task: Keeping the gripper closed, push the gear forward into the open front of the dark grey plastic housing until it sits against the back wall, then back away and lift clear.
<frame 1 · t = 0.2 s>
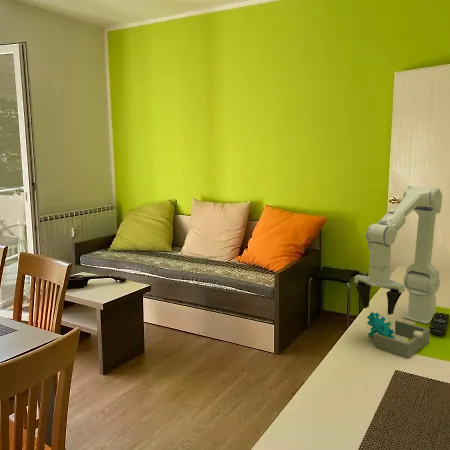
hand: (378, 310, 132), 10 cm above the table, tool pointing down, fingers open, 7 cm apart
housing: (401, 344, 132), on the table
gear: (380, 339, 136), on the table
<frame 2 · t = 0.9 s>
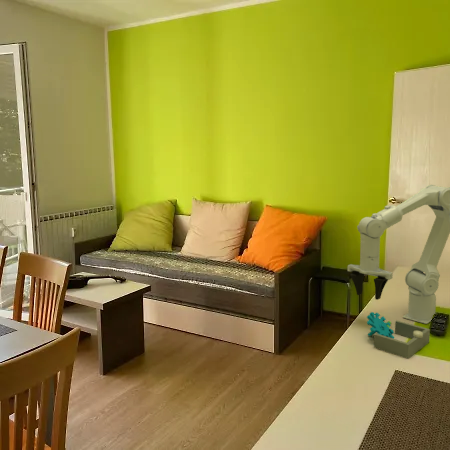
hand: (368, 296, 145), 9 cm above the table, tool pointing down, fingers open, 6 cm apart
nothing on the table moved.
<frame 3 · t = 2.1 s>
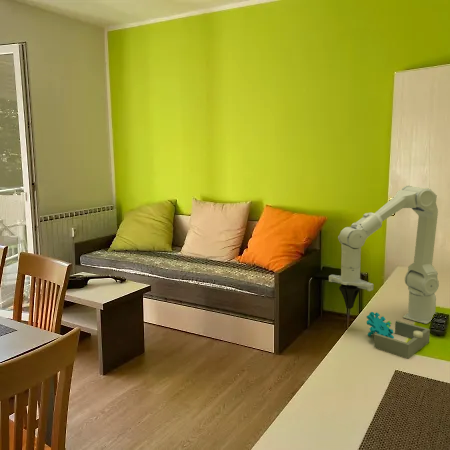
hand: (349, 307, 142), 7 cm above the table, tool pointing down, fingers closed
nothing on the table moved.
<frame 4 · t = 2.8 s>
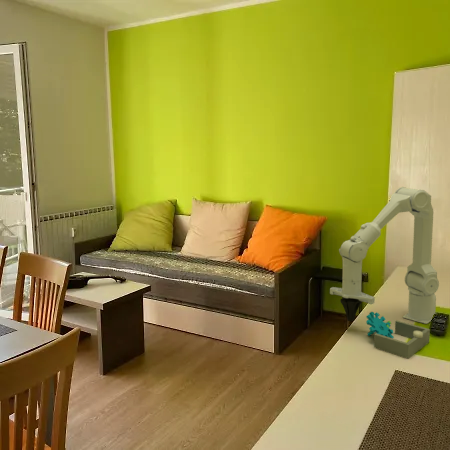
hand: (350, 320, 143), 3 cm above the table, tool pointing down, fingers closed
nothing on the table moved.
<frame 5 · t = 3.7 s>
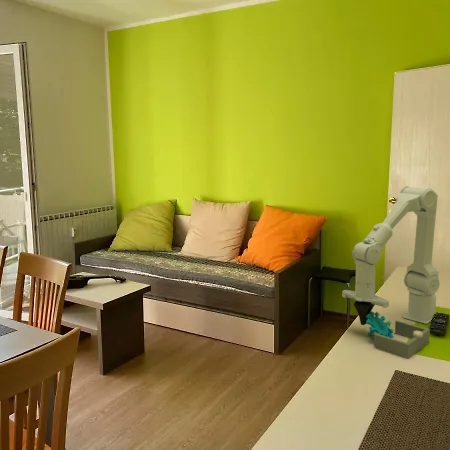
hand: (363, 324, 140), 3 cm above the table, tool pointing down, fingers closed
gear: (380, 338, 136), on the table, touching gripper
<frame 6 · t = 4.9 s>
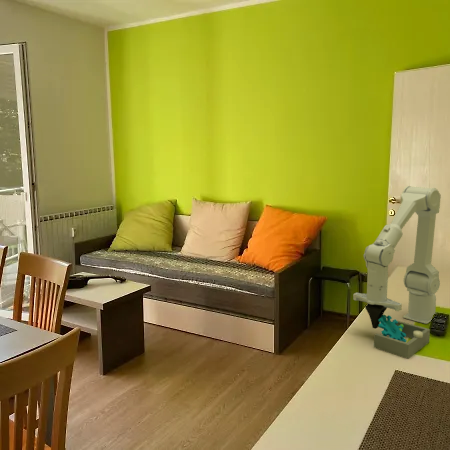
hand: (375, 327, 137), 3 cm above the table, tool pointing down, fingers closed
gear: (392, 342, 134), on the table, touching gripper
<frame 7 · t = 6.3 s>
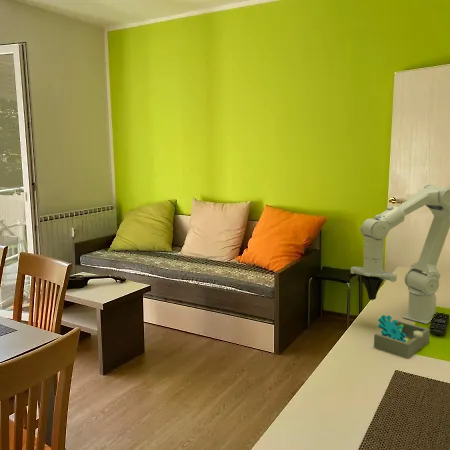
hand: (372, 298, 143), 9 cm above the table, tool pointing down, fingers closed
gear: (392, 342, 134), on the table
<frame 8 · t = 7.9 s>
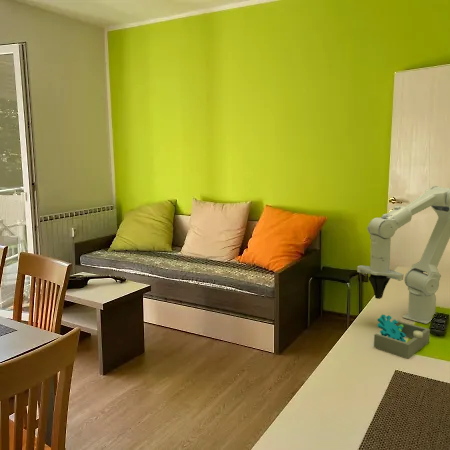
hand: (378, 297, 144), 9 cm above the table, tool pointing down, fingers closed
nothing on the table moved.
at the end: gear 1.4 cm from the target spot, on the table; gear tilted 0°; gear moved 3.4 cm from its start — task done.
